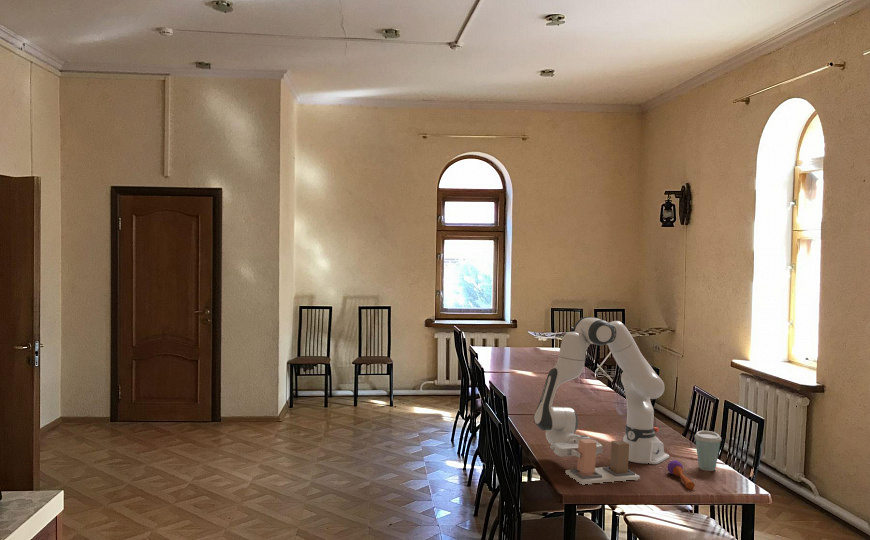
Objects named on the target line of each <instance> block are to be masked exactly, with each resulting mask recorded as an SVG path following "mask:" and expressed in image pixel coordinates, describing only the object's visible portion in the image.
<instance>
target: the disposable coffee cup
mask: <svg viewBox="0 0 870 540" xmlns="http://www.w3.org/2000/svg"><path fill="white" fill-rule="evenodd" d="M694 440H695V448H696V454H697V456H696V458H697V463H698V468H699V469H700V470H702V471H706V472H713V471H715V470H716V469H717V462H718V458H719V457H718V456H719V452H720V447H721V442H722V437H721V436H720V434H719V433H717V432H715V431H710V430H699V431H697V432H696V433H695V434H694Z"/></svg>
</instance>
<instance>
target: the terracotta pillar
mask: <svg viewBox="0 0 870 540" xmlns="http://www.w3.org/2000/svg"><path fill="white" fill-rule="evenodd" d="M591 439H592V438H591ZM591 439H579V444H578V452H581V453H582V457H580V458H579V457H577V464H576V465H577V466H576V469H578V470H579V471H581V472H582V473H595V468H596V459H597V458H596V457H597V456H596V442H595V441H596V440H595V441H593V440H594V439H592V440H591Z"/></svg>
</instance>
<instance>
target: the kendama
mask: <svg viewBox="0 0 870 540" xmlns="http://www.w3.org/2000/svg"><path fill="white" fill-rule="evenodd" d="M667 471H668V473H669V474H670V475H672V474H673V476H675V477H680V479H681V480H682V482H683V484H684V486H685V488H686V489H687V488H688V489H687V490H694V489H695V485H696V484H695V483H694V482H693V481H692V480H691V479H689V478H688V477H687V476H686V475H684V474H683V473H684V466H683V464H682V463H681V462H680V461H678V460H673V459H672V460H670V461H669V462H668V464H667Z"/></svg>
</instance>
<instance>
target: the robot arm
mask: <svg viewBox="0 0 870 540" xmlns="http://www.w3.org/2000/svg"><path fill="white" fill-rule="evenodd" d="M590 345H596V346H604V345H607V347H608V349H609V350H610V353H611V354H612V357H613V359H614V361H615V362H616V365H617V366H618V367H619V368H620V369H621V370H622V373H621V375H620V381H621V384H622V386H623V388H624V393H625V399H626V407H627V412H626V424H625V427H624V428H625V429H624V431H625V433H624V435H623V438H622V441H624V442H626V443H628V444H629V458H628V462H632V463H636V464H648V463H649V464H651V465H658V464H660V463H662V462H664V461H666V460H668V459H669V458H670V455H669V454H668V453H666V452H665V445H664V443H663V442H662V441H661V440H660V439H659V438H658V437H657V436H656V433H659V430H660V429H659V427H656V426H654V417H655V416H654V414H655V410H654V406H653V405H652V402H651V400H655V399H658V398H660V397H661V396H662V395H664V392H665V388H666V387H665V383H664V381H663V379H662V378H661V377H660V376H659V375H658V374H657V372H656V371H655V370H654V369H653V367H652V365H650V363H649V362H648V360H646V358H645V357H644V356H643V354H642V352H641V351H640V348H639V346H638V345H637V343H636V341H635V339H634V337H633V336H632V334H631V332H630V331H629V330H628V328H627V327H626V325H625V324H624V323H622V321H619V320H613V321H610V322H608V321H606V320H603V319H601V318H597V317H591V316H586V317H585V316H584V317H581V318H579V319H578V320H577V321H576V322H575V324H574V327H573V328H572V329H571V331H569V332H566V333H565V334H564V335H563V337H562V340H561V344H560V347H559V351H558V352H559V353H558V358H557V362H556V363H555V366H553V368H551V369H550V370H549V371H548V374H547V377H546V379H545V383H544V386H543V390H542V394H541V396H540V399H539V402H538V404H537V405H538V406H537V407H536V409H535V412H534V415H533V420H534V423H535V425H536V427H538V429H539V430H541V431H545V438H546V440H547V442H548V444H550V446H549V448H550V449H551V450H553V453H554V454H555V455H556V456H558V457H560V458H563V457H577V458H578V457H579V458H580V457H582V453H581V452H578V444H579V439H591V440H593V441H595V442H596V457H597V456H598V455H602V454H603V451H604V449H603V448H604V446H603V445H602V444H601V443H600V442H599V441H597V440H595V439H592V437H591V436H588V435H580V434H576V431H577V429H578V426H579V418H578V415H577V413H576V411H575V410H574V409H573V408H572V407H569V406H568V407H566V406H553V403H554V399H555V395H556V392H557V389H558V388H559V387H560V386H561V385H562V384H564V383H566V382H569V381H572V380H575V379H576V378H579V376H580V375H582V373H583V371H584V370H585V369H584V368H585V363H586V353H587V350H588V348H589V346H590ZM649 464H648V465H649Z"/></svg>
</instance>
